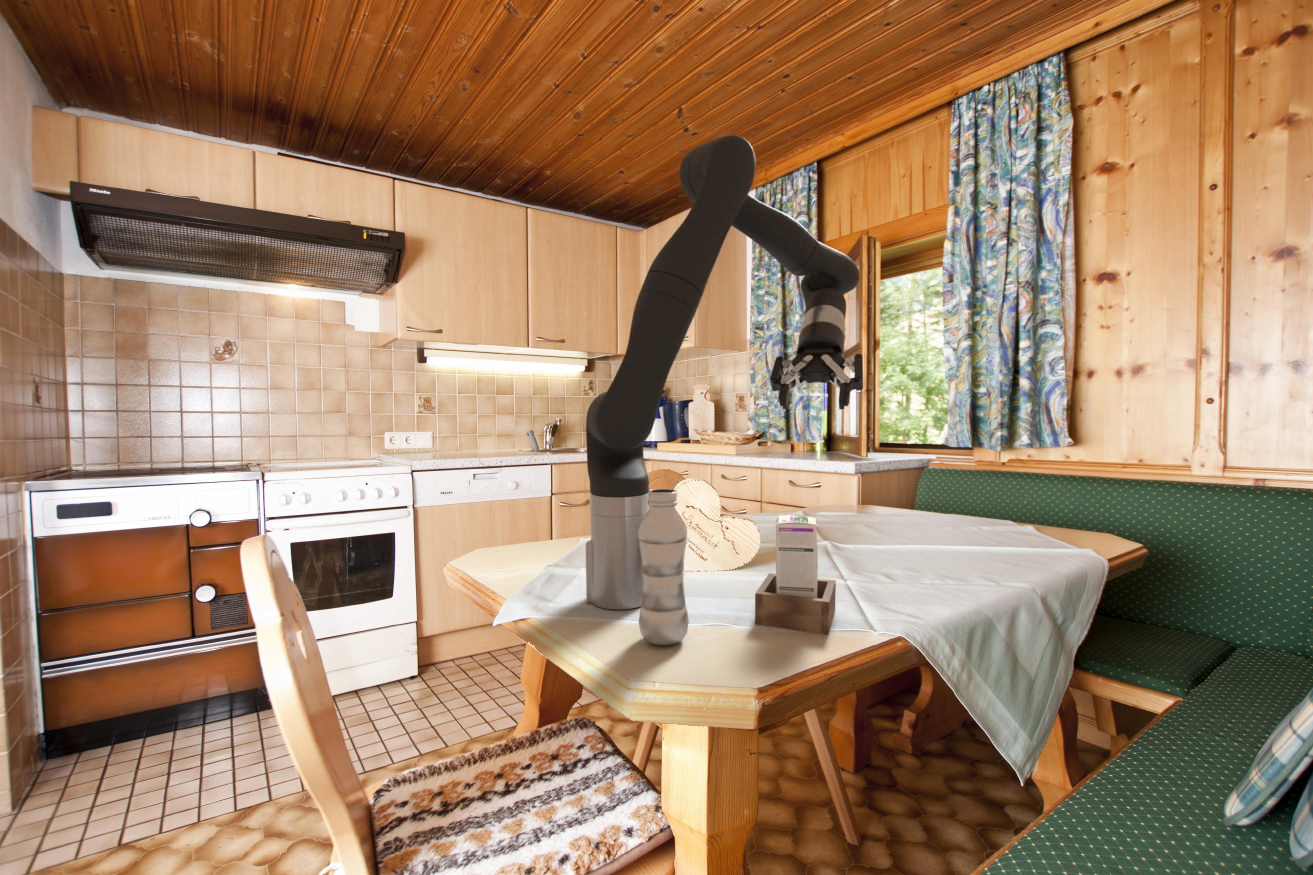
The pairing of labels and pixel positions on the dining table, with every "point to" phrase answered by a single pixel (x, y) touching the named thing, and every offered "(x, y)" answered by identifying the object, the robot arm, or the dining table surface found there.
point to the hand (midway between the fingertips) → (812, 405)
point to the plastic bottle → (663, 570)
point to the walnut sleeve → (795, 607)
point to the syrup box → (796, 556)
